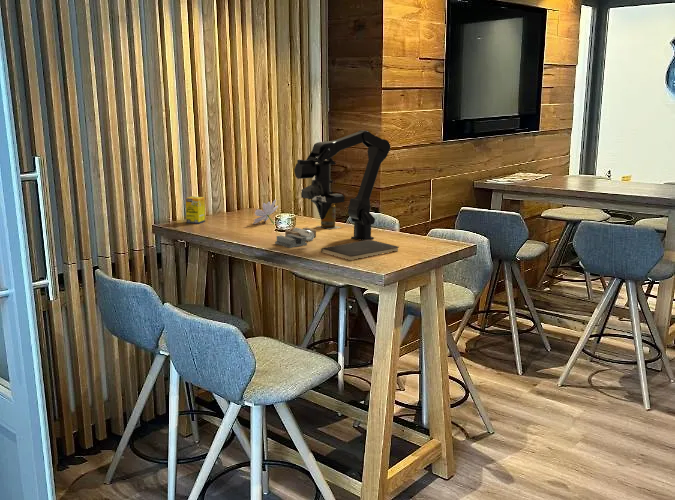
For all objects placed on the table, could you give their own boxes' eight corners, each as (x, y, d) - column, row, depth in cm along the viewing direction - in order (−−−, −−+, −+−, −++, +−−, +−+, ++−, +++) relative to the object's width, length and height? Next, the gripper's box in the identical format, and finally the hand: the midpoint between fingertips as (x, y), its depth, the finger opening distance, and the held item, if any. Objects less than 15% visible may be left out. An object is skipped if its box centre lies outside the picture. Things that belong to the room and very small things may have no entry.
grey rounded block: (315, 237, 266) (316, 229, 265) (294, 240, 259) (294, 233, 258) (306, 234, 270) (306, 227, 269) (285, 238, 263) (285, 230, 263)
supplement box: (186, 223, 291) (185, 198, 289) (193, 220, 297) (192, 196, 294) (198, 224, 290) (197, 198, 287) (205, 221, 295) (204, 196, 293)
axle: (315, 237, 260) (312, 229, 258) (308, 243, 258) (304, 234, 256) (301, 234, 267) (297, 225, 265) (293, 239, 265) (290, 231, 263)
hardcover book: (399, 252, 244) (399, 246, 243) (351, 262, 229) (351, 255, 229) (368, 245, 256) (368, 239, 255) (321, 253, 241) (321, 247, 240)
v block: (306, 244, 252) (306, 237, 252) (289, 247, 247) (289, 240, 246) (292, 240, 259) (292, 233, 258) (275, 243, 254) (275, 236, 253)
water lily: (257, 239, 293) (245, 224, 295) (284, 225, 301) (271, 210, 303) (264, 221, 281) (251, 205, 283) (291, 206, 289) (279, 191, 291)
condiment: (329, 224, 292) (329, 197, 289) (342, 227, 286) (342, 199, 283) (316, 226, 288) (316, 198, 285) (328, 229, 281) (328, 201, 278)
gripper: (289, 176, 251) (289, 218, 255) (321, 181, 237) (321, 225, 241) (313, 174, 258) (313, 214, 262) (345, 179, 245) (345, 221, 248)
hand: (322, 219), depth 253 cm, fingers closed
